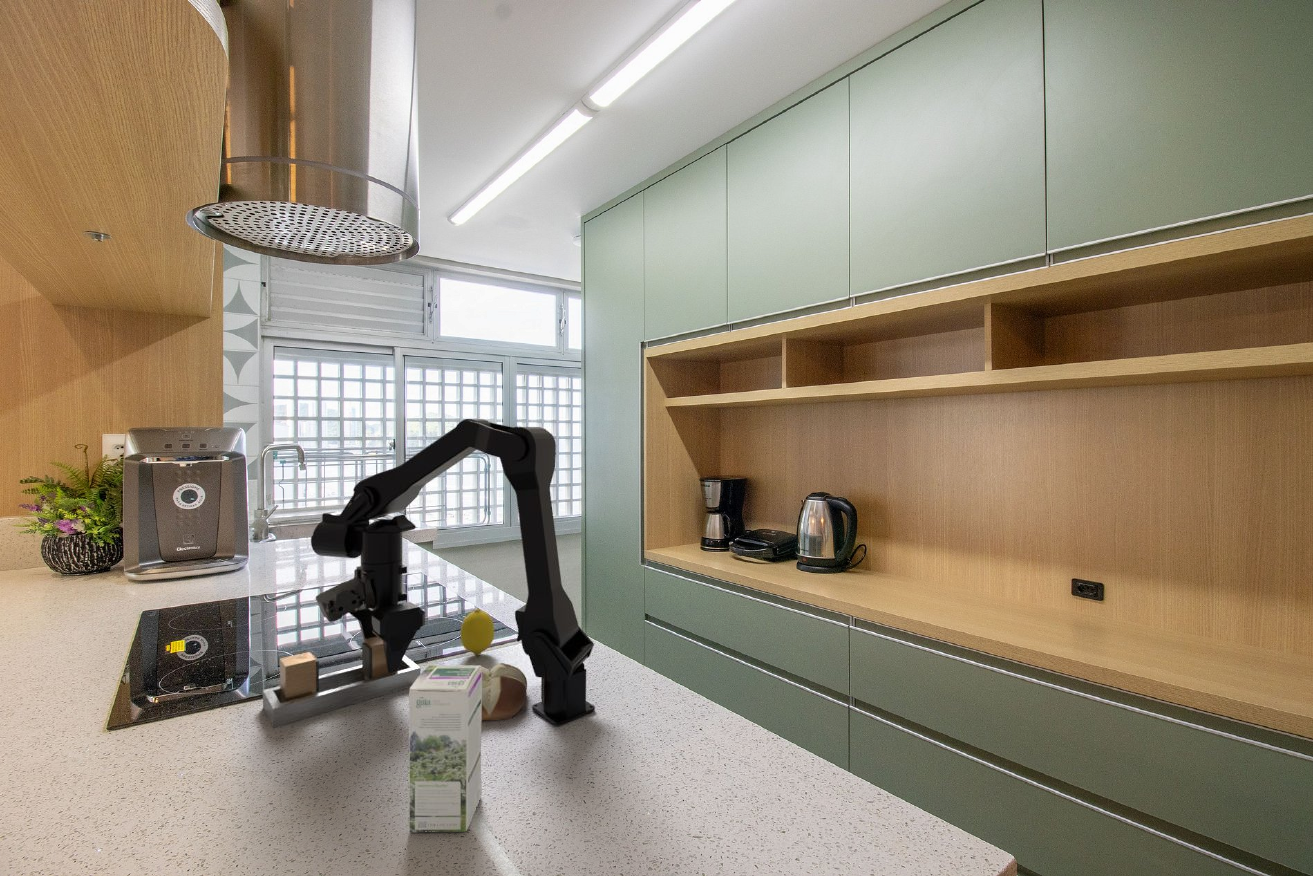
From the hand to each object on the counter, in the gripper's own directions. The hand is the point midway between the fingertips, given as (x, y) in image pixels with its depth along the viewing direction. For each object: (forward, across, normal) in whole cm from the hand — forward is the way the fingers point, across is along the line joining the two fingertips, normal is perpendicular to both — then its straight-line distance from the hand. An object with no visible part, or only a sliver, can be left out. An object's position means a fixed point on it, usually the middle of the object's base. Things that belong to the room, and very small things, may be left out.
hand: (381, 662), depth 87 cm
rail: (+4, 0, -5) cm, 6 cm away
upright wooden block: (+2, 0, 0) cm, 3 cm away
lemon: (+4, -1, +16) cm, 16 cm away
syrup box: (+4, +35, -5) cm, 36 cm away
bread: (+4, +16, +9) cm, 19 cm away
